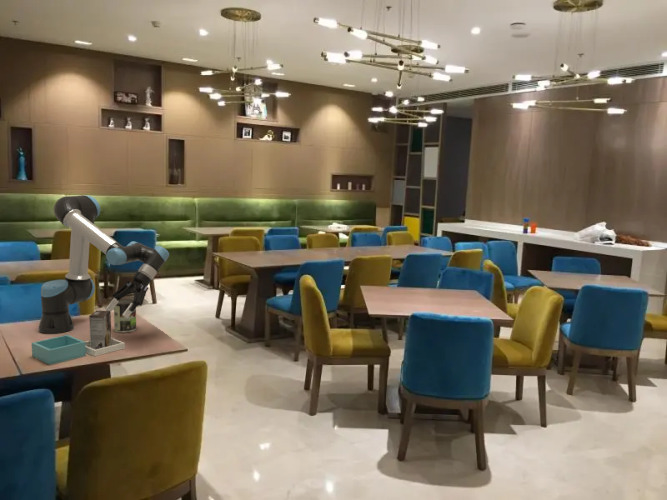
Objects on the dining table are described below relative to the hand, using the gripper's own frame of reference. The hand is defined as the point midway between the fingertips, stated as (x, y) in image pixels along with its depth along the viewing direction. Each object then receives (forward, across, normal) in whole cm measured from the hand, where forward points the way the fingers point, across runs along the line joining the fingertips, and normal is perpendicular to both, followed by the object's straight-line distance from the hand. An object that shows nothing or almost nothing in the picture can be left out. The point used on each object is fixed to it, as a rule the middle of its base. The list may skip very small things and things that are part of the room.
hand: (116, 314), depth 247 cm
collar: (+15, +1, -5) cm, 16 cm away
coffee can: (-1, +19, -22) cm, 29 cm away
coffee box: (+15, +1, -5) cm, 16 cm away
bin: (+27, +5, +6) cm, 28 cm away
